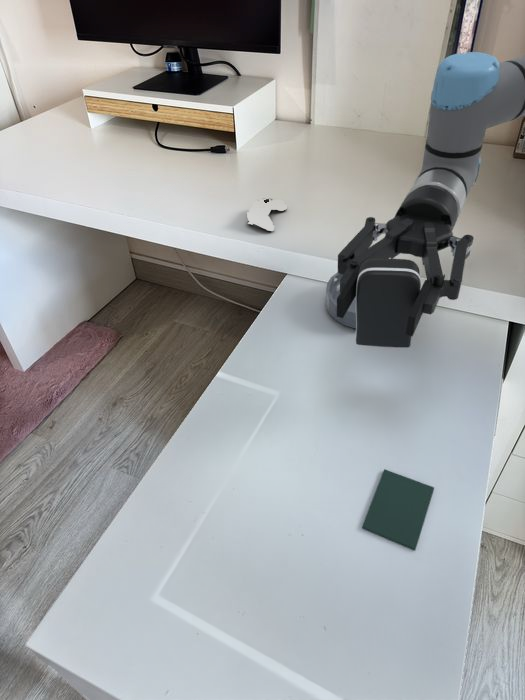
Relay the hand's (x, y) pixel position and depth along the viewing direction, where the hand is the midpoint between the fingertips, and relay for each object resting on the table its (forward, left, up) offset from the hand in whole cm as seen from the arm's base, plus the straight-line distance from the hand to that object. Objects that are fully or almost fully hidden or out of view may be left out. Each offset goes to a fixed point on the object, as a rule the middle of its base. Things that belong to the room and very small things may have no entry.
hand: (374, 317), depth 55 cm
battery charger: (0, -5, -8) cm, 9 cm away
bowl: (+8, -21, -18) cm, 28 cm away
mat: (-8, +11, -18) cm, 22 cm away
